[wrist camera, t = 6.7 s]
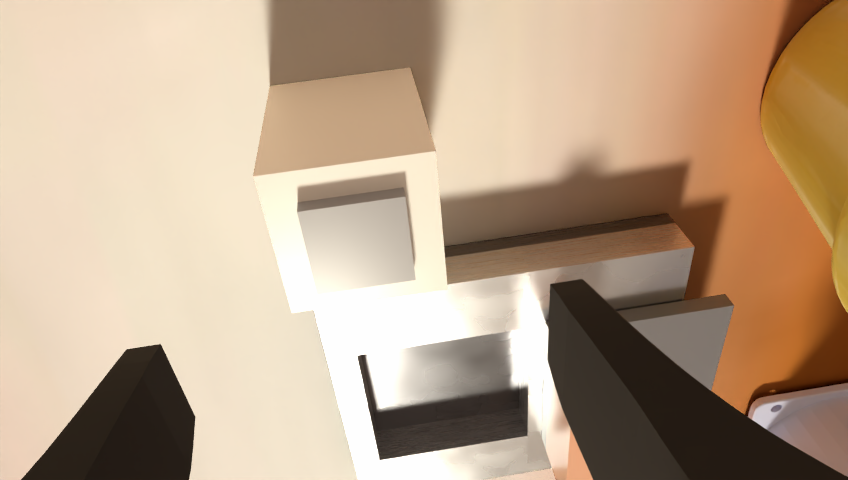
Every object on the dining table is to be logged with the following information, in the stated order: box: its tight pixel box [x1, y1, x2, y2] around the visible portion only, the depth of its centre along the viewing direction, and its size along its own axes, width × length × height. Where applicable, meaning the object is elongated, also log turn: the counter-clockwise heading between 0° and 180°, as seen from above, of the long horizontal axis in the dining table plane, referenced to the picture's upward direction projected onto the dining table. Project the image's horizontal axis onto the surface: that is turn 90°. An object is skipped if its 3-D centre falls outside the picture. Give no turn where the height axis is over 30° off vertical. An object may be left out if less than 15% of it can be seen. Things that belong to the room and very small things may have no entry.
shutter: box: [542, 294, 734, 480], centre depth 23 cm, size 6×6×3 cm
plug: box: [253, 67, 448, 313], centre depth 17 cm, size 4×4×6 cm
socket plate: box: [314, 214, 695, 480], centre depth 24 cm, size 12×11×2 cm
